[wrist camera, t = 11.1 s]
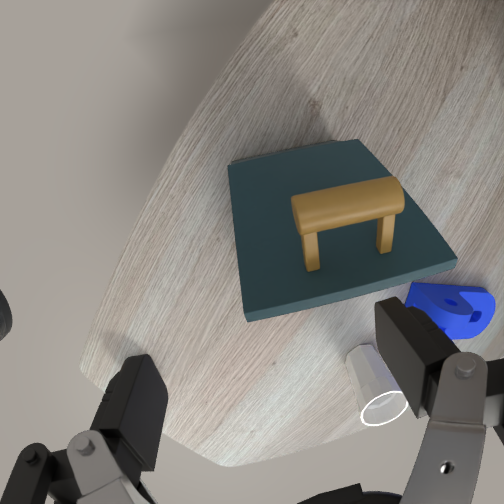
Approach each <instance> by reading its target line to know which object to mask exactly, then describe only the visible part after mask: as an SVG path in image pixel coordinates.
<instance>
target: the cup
mask: <svg viewBox="0 0 504 504" xmlns="http://www.w3.org/2000/svg"><path fill="white" fill-rule="evenodd" d="M345 365H346V368H347V371H348V374H349V377H350V381H351V384H352V387H353V391H354V394H355V397H356V404H357V408H358V411H359V415H360V418H361V420H362V422H363V424H366V425H369V426H379V425H382V424H386V423H388V422H390V421H392V420H394V419H396V418H397V417H398V416H399V415H401V414H402V413H403V411H404V410H405V409H406V408H407V406H408V402H407V400H406V398H405V396H404V394H403V393H402V391H401V389H400V387H399V386H398V384H397V382H396V380H395V379H394V377H393V375H392V374H391V372H390V371H389V369H388V368H387V366H386V365H385V363H384V362H383V360H382V358H381V357H380V355H379V354H378V352H377V351H376V349H375V348H374V347H373V346H372V345H358V346H357V347H356V348H354V349H353V350H351V351H350V352H349V353H348V354H347V358H346V361H345Z"/></svg>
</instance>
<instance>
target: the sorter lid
mask: <svg viewBox="0 0 504 504" xmlns="http://www.w3.org/2000/svg"><path fill="white" fill-rule="evenodd" d="M228 176H229V186H230V195H231V204H232V214H233V223H234V232H235V241H236V250H237V259H238V268H239V276H240V285H241V294H242V302H243V311H244V315H245V318H246V320H247V322H252V321H257V320H261V319H266V318H271V317H275V316H280V315H284V314H288V313H293V312H297V311H301V310H306V309H310V308H314V307H318V306H322V305H326V304H330V303H334V302H338V301H342V300H346V299H350V298H354V297H358V296H361V295H365V294H369V293H372V292H376V291H380V290H383V289H387V288H390V287H394V286H397V285H401V284H404V283H408V282H411V281H415V280H418V279H421V278H425V277H428V276H431V275H434V274H438V273H441V272H444V271H447V270H450V269H453V268H455V266H456V262H457V259H458V258H457V256H456V255H455V254H454V252H453V251H452V249H451V248H450V247H449V245H448V244H447V242H446V241H445V240H444V238H443V237H442V236H441V234H440V233H439V232H438V230H437V229H436V228H435V227H434V225H433V224H432V223H431V221H430V220H429V219H428V218H427V216H426V215H425V214H424V212H423V211H422V210H421V209H420V208H419V206H418V205H417V204H416V203H415V201H414V200H413V199H412V198H411V197H410V195H409V194H408V193H407V192H406V191H405V190H404V188H403V187H402V186H401V184H400V182H399V181H398V179H397V178H396V177H394V176H392V175H391V174H390V172H389V171H388V170H387V169H386V168H385V167H384V166H383V165H382V164H381V163H380V161H379V160H378V159H377V158H376V157H375V156H374V155H373V154H372V153H371V152H370V151H369V150H368V149H367V148H366V147H365V146H364V145H363V144H362V142H361V141H360V140H359V139H354V140H347V141H342V142H336V143H330V144H325V145H319V146H314V147H309V148H303V149H298V150H294V151H289V152H284V153H279V154H274V155H270V156H265V157H261V158H256V159H252V160H248V161H244V162H239V163H235V164H231V165H228Z"/></svg>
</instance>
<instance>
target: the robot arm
mask: <svg viewBox="0 0 504 504" xmlns="http://www.w3.org/2000/svg"><path fill="white" fill-rule="evenodd" d="M374 308H375V328H376V342H377V347H378V350H379V353H380V355H381V356H382V358H383V360H384V362H385V363H386V365H387V367H388V368H389V370H390V372H391V374H392V375H393V377H394V379H395V380H396V382H397V384H398V386H399V387H400V389H401V391H402V393H403V394H404V396H405V398H406V400H407V402H408V403H409V405H410V407H411V409H412V410H413V412H414V414H415V416H416V418H417V419H418V418H421V417H424V416H426V415H428V416H429V417H430V419H429V421H428V425H427V428H426V431H425V435H424V438H423V441H422V444H421V447H420V450H419V453H418V456H417V459H416V462H415V465H414V468H413V470H412V473H411V476H410V478H409V481H408V483H407V486H406V488H405V491H404V494H403V496H402V495H399V494H395V493H390V492H380V491H367V492H362V488H361V485H360V483H358V484H355V485H351V486H348V487H344V488H340V489H337V490H333V491H329V492H325V493H321V494H318V495H316V496H313V497H311V498H309V499H307V500H304V501H302V502H300V503H297V504H471V502H472V498H473V495H474V491H475V486H476V483H477V478H478V474H479V469H480V464H481V459H482V453H483V448H484V442H485V435H486V428H488V427H493V428H494V430H495V431H496V433H497V435H498V436H499V438H500V440H501V441H502V443H503V445H504V358H503V359H498V360H493V361H486V362H485V360H484V359H483V358H482V357H481V356H479V355H477V354H475V353H471V352H461V351H460V350H459V349H458V348H457V346H456V345H455V344H454V343H453V342H452V341H451V340H450V339H449V337H448V336H447V335H446V334H445V333H444V332H443V331H442V330H441V329H440V328H439V327H438V325H437V324H436V323H435V322H434V321H432V319H431V318H430V317H429V316H428V315H427V313H426V312H425V311H423V310H421V309H419V308H416V307H414V306H410V307H407V308H406V307H405V305H404V304H403V303H402V302H401V301H400V300H399V299H398V298H397V297H392V298H388V299H385V300H382V301H379V302H376V303H375V307H374ZM105 392H106V394H104V396H103V398H102V402H101V403H100V405H99V408H98V410H97V412H96V415H95V417H94V420H93V422H92V425H91V427H90V430H87V431H83V432H81V433H79V434H77V435H76V436H75V437H74V438H72V440H71V441H70V442H69V444H68V447H67V449H64V450H60V451H55V452H50V451H49V450H48V449H47V448H46V447H45V445H43V444H41V443H33V444H30V445H28V446H27V447H26V448H24V449H23V450H22V451H21V453H20V454H19V456H18V459H17V461H16V463H15V466H14V468H13V470H12V473H11V475H10V478H9V480H8V483H7V485H6V488H5V490H4V493H3V496H2V498H1V501H0V504H45V500H46V497H47V494H48V495H49V496H50V497H51V498H53V499H54V500H55V501H54V504H158V503H157V501H156V500H155V498H154V497H153V496H152V494H151V493H150V491H149V490H148V488H147V487H146V485H145V484H144V482H143V481H142V480H141V479H140V476H141V471H154V468H155V463H156V458H157V452H158V447H159V442H160V437H161V432H162V427H163V422H164V418H165V413H166V408H167V403H168V392H167V388H166V385H165V383H164V381H163V380H162V378H161V376H160V374H159V372H158V370H157V368H156V366H155V364H154V362H153V360H152V359H151V357H150V356H149V355H148V354H145V355H138V356H132V357H128V358H127V359H126V361H125V364H124V366H123V368H122V371H121V372H118V373H117V374H116V375H115V376H114V377H113V378H112V379H111V381H110V382H109V384H108V386H107V389H106V391H105Z"/></svg>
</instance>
